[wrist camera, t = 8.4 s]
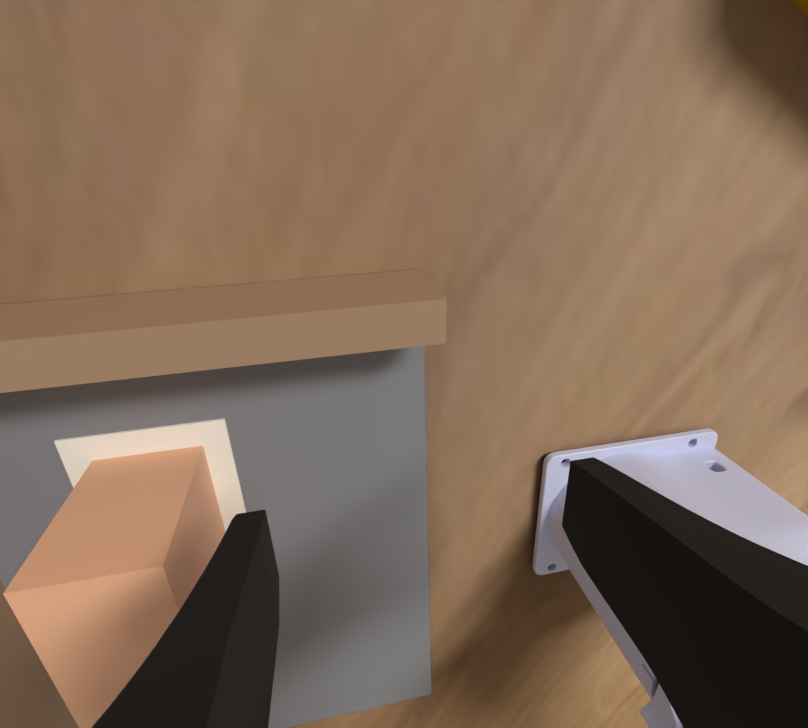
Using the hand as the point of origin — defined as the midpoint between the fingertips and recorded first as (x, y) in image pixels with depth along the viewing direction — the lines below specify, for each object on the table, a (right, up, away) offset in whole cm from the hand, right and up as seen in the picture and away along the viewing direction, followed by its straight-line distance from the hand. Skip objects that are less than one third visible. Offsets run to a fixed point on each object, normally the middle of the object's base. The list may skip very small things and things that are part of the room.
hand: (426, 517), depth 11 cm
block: (-10, -3, +9) cm, 14 cm away
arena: (-9, -5, +11) cm, 15 cm away
